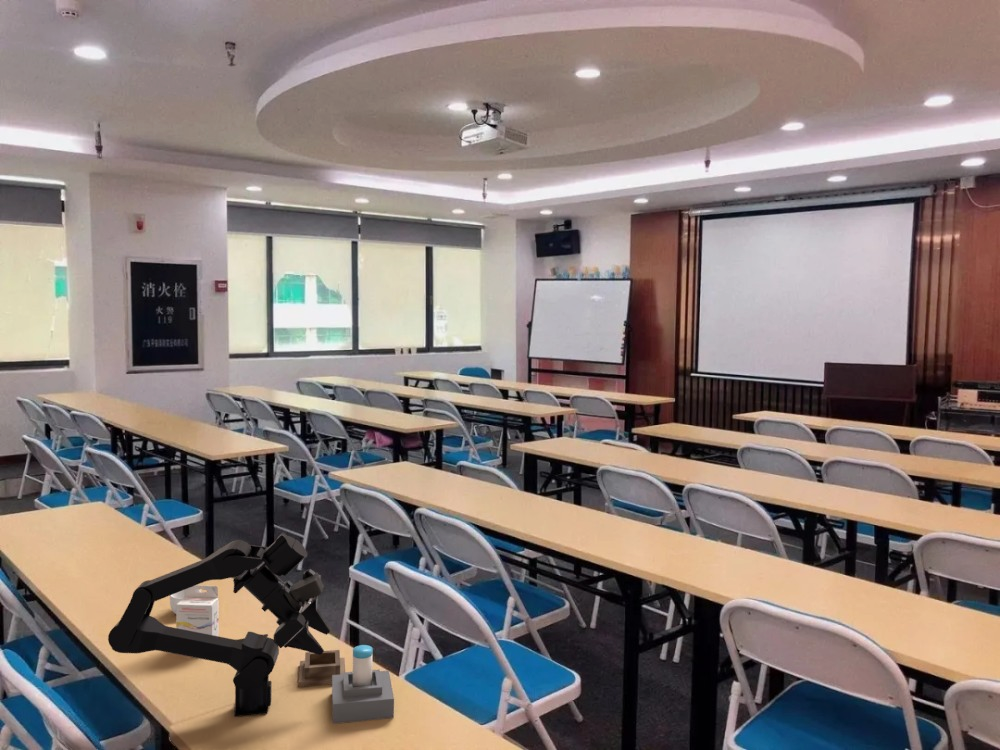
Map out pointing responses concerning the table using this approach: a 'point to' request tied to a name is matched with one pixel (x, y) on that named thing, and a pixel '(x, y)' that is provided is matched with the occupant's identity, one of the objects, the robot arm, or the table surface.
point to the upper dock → (362, 698)
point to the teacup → (177, 599)
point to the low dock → (320, 668)
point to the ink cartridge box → (199, 610)
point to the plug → (362, 666)
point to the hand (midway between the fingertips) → (325, 642)
